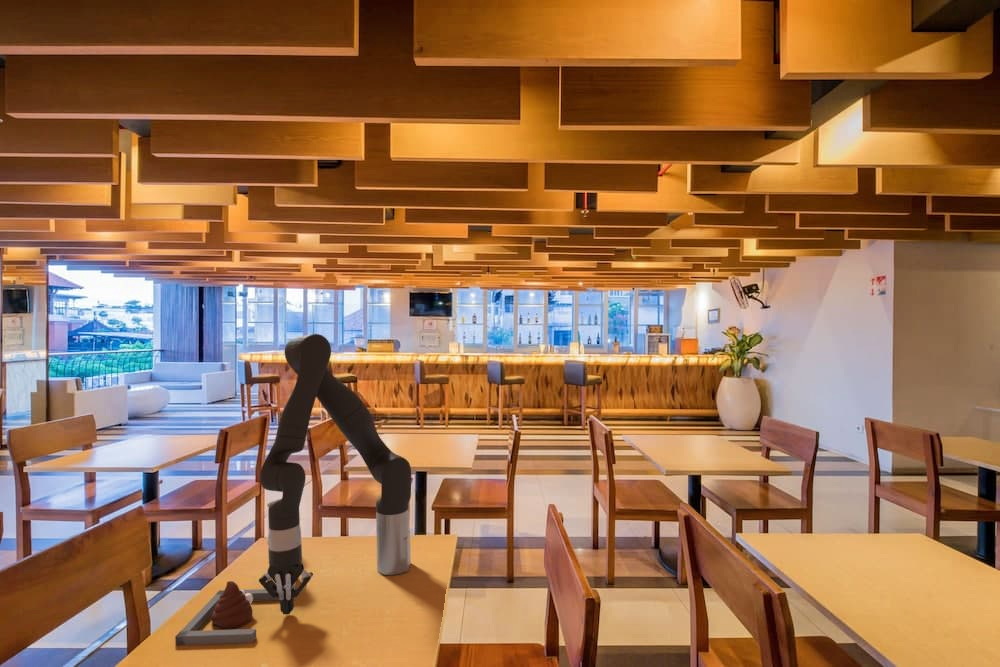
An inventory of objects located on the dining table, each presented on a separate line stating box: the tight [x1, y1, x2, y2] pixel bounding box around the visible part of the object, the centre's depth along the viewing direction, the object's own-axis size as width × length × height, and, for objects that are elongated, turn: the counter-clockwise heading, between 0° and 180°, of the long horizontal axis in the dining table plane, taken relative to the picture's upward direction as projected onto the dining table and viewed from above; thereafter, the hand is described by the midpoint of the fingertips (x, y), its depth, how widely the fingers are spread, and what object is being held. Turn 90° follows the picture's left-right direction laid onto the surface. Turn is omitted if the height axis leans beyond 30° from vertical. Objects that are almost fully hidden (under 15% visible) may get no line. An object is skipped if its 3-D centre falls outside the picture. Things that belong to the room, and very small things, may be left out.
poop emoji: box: [210, 580, 254, 630], centre depth 129 cm, size 10×8×9 cm
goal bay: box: [174, 588, 280, 646], centre depth 129 cm, size 17×20×2 cm
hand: (287, 612), depth 130 cm, fingers closed
